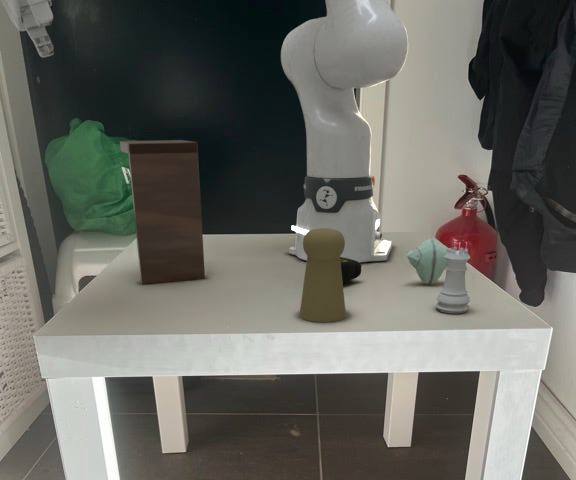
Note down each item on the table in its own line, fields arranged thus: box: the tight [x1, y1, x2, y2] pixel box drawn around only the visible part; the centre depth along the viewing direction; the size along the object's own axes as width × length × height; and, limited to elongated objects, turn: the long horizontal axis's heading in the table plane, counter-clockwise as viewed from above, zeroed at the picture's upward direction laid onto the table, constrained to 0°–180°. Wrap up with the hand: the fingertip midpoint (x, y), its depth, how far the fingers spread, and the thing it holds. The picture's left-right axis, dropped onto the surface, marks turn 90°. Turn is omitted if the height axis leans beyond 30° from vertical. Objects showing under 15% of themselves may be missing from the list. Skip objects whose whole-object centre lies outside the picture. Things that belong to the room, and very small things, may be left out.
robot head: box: [406, 238, 448, 285], centre depth 97 cm, size 8×4×7 cm, turn 94°
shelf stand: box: [119, 139, 206, 285], centre depth 102 cm, size 11×10×20 cm
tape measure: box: [340, 257, 362, 284], centre depth 99 cm, size 7×7×4 cm
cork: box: [299, 228, 347, 323], centre depth 81 cm, size 6×6×11 cm
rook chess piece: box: [435, 247, 471, 315], centre depth 84 cm, size 4×4×8 cm
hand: (47, 40), depth 73 cm, fingers open, 8 cm apart
